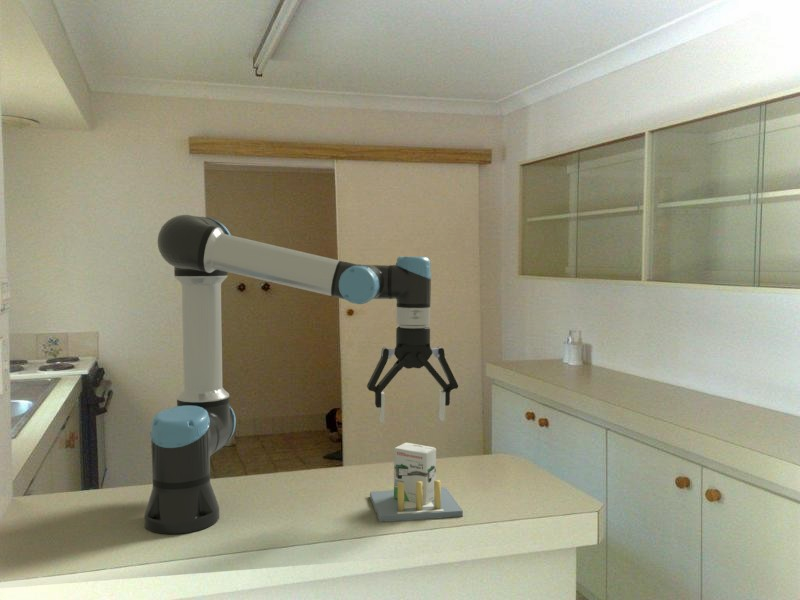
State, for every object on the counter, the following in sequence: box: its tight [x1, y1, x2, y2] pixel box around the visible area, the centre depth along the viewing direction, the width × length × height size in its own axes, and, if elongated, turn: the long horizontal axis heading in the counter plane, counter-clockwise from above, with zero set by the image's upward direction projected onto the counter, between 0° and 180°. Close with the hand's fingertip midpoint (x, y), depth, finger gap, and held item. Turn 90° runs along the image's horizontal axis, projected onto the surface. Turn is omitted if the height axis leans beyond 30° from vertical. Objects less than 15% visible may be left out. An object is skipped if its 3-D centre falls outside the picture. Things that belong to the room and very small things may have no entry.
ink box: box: [393, 442, 437, 505], centre depth 161 cm, size 9×5×12 cm, turn 59°
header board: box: [369, 479, 464, 523], centre depth 160 cm, size 18×16×7 cm
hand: (412, 421), depth 160 cm, fingers open, 13 cm apart
